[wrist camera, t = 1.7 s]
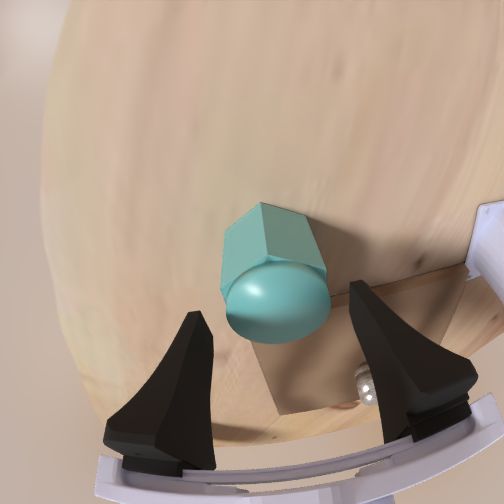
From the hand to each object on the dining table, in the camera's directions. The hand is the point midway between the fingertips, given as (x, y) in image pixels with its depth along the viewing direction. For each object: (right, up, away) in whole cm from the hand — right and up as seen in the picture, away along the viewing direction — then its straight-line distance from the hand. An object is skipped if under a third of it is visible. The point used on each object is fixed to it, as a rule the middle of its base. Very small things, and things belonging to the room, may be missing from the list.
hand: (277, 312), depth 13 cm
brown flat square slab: (+10, -8, +13) cm, 18 cm away
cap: (0, +3, +5) cm, 6 cm away
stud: (+10, -9, +12) cm, 18 cm away
